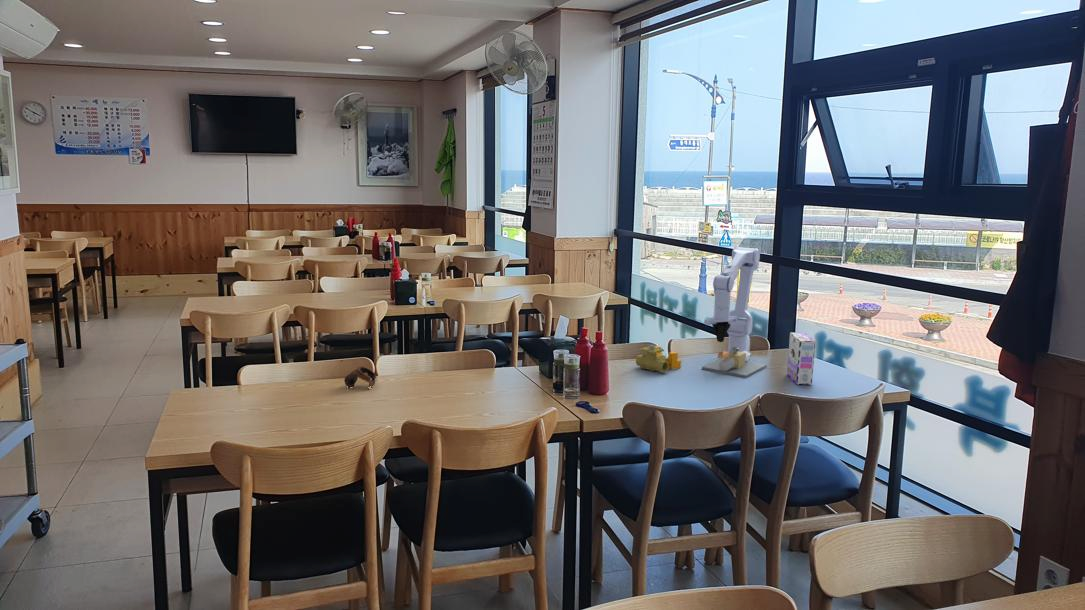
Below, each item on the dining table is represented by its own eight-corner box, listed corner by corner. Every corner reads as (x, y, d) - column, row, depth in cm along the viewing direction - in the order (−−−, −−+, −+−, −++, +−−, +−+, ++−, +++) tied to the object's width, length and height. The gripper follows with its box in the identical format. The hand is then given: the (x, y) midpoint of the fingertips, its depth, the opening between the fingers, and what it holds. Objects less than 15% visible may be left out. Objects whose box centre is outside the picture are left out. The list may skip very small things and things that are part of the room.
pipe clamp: (680, 368, 314) (681, 352, 313) (671, 370, 312) (672, 353, 311) (660, 361, 324) (661, 345, 323) (652, 362, 322) (652, 346, 321)
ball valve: (633, 368, 312) (634, 343, 310) (650, 364, 319) (651, 339, 317) (659, 376, 303) (660, 349, 301) (676, 371, 310) (677, 345, 308)
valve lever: (733, 349, 315) (733, 346, 315) (740, 351, 314) (740, 347, 313) (717, 357, 304) (717, 353, 304) (723, 358, 303) (723, 354, 302)
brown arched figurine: (354, 383, 290) (365, 364, 289) (372, 399, 287) (384, 379, 285) (332, 383, 279) (344, 363, 278) (351, 399, 276) (363, 379, 274)
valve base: (723, 359, 328) (724, 342, 326) (766, 367, 317) (767, 349, 315) (701, 369, 313) (702, 351, 311) (746, 378, 302) (747, 359, 301)
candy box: (812, 385, 294) (816, 341, 291) (796, 385, 294) (799, 340, 291) (802, 374, 307) (805, 332, 304) (786, 374, 308) (789, 331, 304)
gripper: (730, 303, 318) (728, 337, 321) (700, 306, 311) (698, 341, 314) (742, 306, 312) (740, 341, 314) (712, 309, 305) (710, 345, 308)
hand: (720, 341), depth 314 cm, fingers closed
